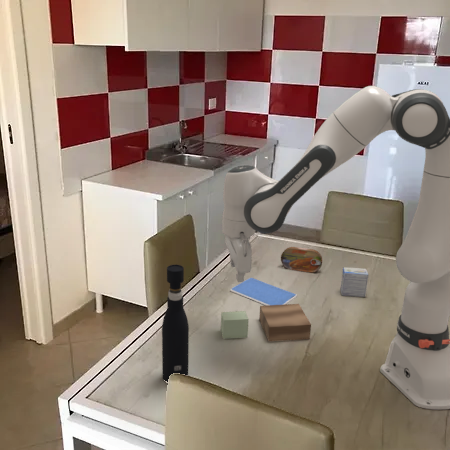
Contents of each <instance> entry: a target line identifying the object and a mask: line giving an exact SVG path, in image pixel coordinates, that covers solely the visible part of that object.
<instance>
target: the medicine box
mask: <svg viewBox="0 0 450 450" xmlns="http://www.w3.org/2000/svg"><path fill="white" fill-rule="evenodd" d="M368 281H369V273H368V270H367V268H360V267H347V266H346V267H342V274H341V281H340V294H341V296H346V297H359V298H361V297H362V298H366V297H367V296H366V295H367V287H368V283H369V282H368Z"/></svg>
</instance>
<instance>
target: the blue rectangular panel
mask: <svg viewBox="0 0 450 450" xmlns="http://www.w3.org/2000/svg"><path fill="white" fill-rule="evenodd" d="M230 292H232V293H234V294H236V295H239V296H242V297H244V298H247V299H249V300H252V301H253V302H257V303H258V304H261V305H262V306H266V305H285V304H290V303H291V302H292V301H293V300H295V299H296V298H297V297H298V294H297V293H293V292H291V291H288V290H286V289H283V288H280V287H277V286H274V285H272V284H270V283H268V282H265V281H262V280H260V279H259V280H258V279H256V278H254V277H248V278H247V279H244V282H239V284H237V285H235V286H233V287H232V288H231V287H230Z"/></svg>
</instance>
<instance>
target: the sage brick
mask: <svg viewBox="0 0 450 450" xmlns="http://www.w3.org/2000/svg"><path fill="white" fill-rule="evenodd" d="M220 315H221V317H220V332H221V336H222V339H223V340H224V339H225V340H226V339H239V338H240V339H243V338H248V335H249V334H248V333H249V317H248V314H247V311H246V310H239V311H236V310H235V311H221V314H220Z"/></svg>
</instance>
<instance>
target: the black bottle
mask: <svg viewBox="0 0 450 450" xmlns="http://www.w3.org/2000/svg"><path fill="white" fill-rule="evenodd" d="M184 273H185V271H184V266H182V265H181V264H171V265H168V266H167V267H166V281H167V283H169V290H168V295H167V298H166V299H167V305H166V307H167V308H166V310H165V312H164V316H163V320H162V325H161V348H162V349H161V351H162V352H161V355H162V367H161V368H162V370H161V371H162V380H163V381H164V380H165V381H167V382H168V379H169V376H170V375H171V374H173V373H180V374H185V375H188V376H189V344H190V343H189V341H190V340H189V339H190V338H189V332H190V330H189V329H190V327H189V321H188V317H187V314H186V311H185V308H184V297H183V290H182V286H181V284H182V283H184V282H185V281H184V279H185V278H184V277H185V276H184ZM165 381H164V382H165Z"/></svg>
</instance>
